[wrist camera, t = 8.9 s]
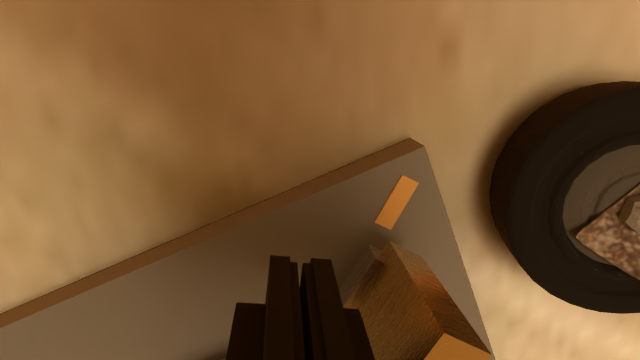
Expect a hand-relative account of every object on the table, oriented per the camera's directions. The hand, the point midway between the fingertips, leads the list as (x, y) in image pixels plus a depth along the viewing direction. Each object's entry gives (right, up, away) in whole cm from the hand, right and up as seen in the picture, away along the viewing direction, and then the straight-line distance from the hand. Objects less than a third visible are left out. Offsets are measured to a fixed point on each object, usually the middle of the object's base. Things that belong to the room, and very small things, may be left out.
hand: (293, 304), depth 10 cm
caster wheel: (+13, +3, +6) cm, 15 cm away
